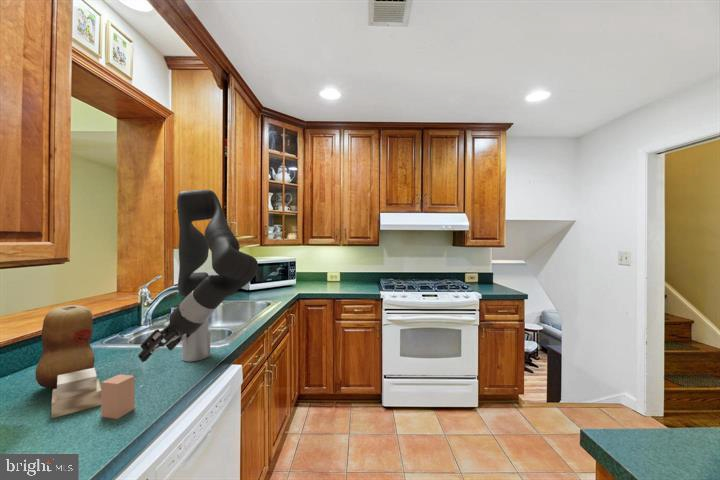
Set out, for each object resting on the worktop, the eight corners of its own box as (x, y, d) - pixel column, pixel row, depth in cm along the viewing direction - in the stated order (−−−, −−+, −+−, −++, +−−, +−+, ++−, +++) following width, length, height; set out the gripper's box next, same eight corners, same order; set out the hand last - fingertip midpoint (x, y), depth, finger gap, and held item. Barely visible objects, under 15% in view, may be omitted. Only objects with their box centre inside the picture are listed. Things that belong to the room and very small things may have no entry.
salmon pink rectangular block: (119, 406, 88) (119, 374, 88) (134, 408, 87) (134, 375, 87) (101, 416, 83) (101, 382, 83) (117, 418, 82) (117, 384, 82)
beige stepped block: (98, 392, 96) (98, 365, 96) (101, 404, 89) (101, 376, 89) (52, 403, 89) (52, 375, 89) (51, 418, 82) (51, 387, 82)
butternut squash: (61, 398, 92) (61, 312, 92) (23, 394, 94) (23, 310, 94) (106, 377, 106) (106, 303, 106) (71, 375, 108) (72, 301, 108)
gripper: (204, 295, 88) (168, 334, 90) (162, 305, 74) (121, 351, 76) (221, 315, 87) (184, 354, 89) (182, 329, 73) (140, 375, 75)
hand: (155, 353), depth 82 cm, fingers open, 8 cm apart
